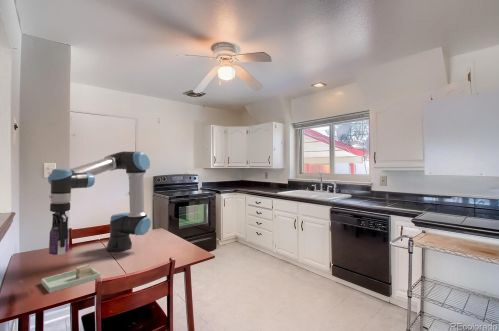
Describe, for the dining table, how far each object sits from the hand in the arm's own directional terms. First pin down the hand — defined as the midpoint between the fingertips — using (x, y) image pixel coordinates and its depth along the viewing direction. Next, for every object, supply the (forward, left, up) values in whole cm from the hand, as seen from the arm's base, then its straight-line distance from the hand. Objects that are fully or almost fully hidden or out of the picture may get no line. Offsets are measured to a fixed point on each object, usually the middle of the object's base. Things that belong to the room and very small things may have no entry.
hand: (58, 251), depth 118 cm
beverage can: (0, 0, -1) cm, 1 cm away
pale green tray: (+1, +5, -15) cm, 16 cm away
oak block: (+1, +10, -15) cm, 18 cm away
